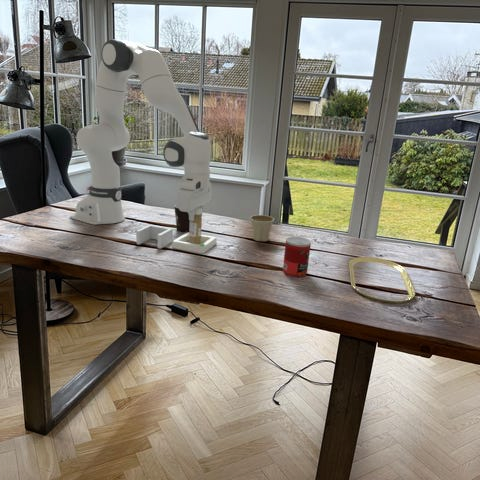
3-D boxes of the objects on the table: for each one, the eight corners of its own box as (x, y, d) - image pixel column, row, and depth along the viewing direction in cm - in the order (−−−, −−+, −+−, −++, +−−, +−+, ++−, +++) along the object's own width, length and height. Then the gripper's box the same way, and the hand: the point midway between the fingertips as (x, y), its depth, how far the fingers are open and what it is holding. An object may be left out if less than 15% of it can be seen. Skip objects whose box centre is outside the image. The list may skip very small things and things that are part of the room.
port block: (172, 247, 151) (172, 239, 150) (187, 238, 162) (187, 230, 161) (203, 253, 148) (203, 245, 147) (216, 243, 159) (216, 235, 158)
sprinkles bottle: (203, 244, 154) (204, 209, 150) (192, 246, 152) (193, 210, 147) (197, 240, 158) (198, 205, 154) (186, 242, 155) (187, 206, 151)
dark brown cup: (193, 234, 167) (194, 209, 164) (172, 232, 167) (172, 208, 164) (197, 225, 178) (198, 202, 175) (177, 224, 178) (177, 201, 175)
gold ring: (400, 265, 151) (401, 261, 151) (419, 309, 119) (420, 304, 118) (347, 258, 154) (348, 254, 154) (351, 299, 122) (352, 294, 121)
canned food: (301, 279, 132) (305, 246, 128) (278, 273, 136) (281, 240, 132) (310, 272, 138) (314, 240, 135) (288, 266, 142) (292, 235, 139)
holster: (136, 243, 153) (136, 230, 151) (149, 237, 161) (149, 224, 159) (160, 248, 150) (160, 235, 148) (172, 241, 158) (172, 228, 156)
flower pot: (244, 240, 165) (246, 218, 162) (253, 233, 173) (255, 213, 170) (267, 244, 161) (269, 223, 159) (275, 238, 170) (277, 217, 167)
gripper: (201, 174, 158) (199, 210, 162) (175, 183, 139) (174, 223, 144) (216, 176, 156) (214, 213, 160) (192, 186, 137) (191, 226, 142)
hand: (195, 218), depth 152 cm, fingers closed on sprinkles bottle, 4 cm apart
